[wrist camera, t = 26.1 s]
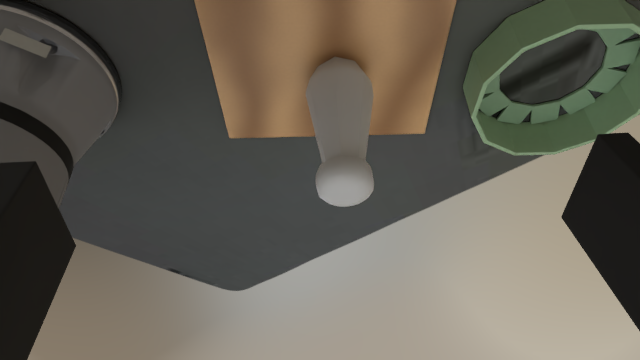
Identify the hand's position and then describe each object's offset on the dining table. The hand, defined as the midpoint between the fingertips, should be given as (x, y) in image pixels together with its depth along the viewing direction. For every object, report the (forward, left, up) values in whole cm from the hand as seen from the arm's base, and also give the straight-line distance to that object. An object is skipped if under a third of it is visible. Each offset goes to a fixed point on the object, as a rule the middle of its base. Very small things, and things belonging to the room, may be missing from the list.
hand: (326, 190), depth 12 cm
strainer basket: (+21, -19, -26) cm, 38 cm away
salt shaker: (+2, -19, -26) cm, 32 cm away
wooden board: (+1, -19, -26) cm, 32 cm away
